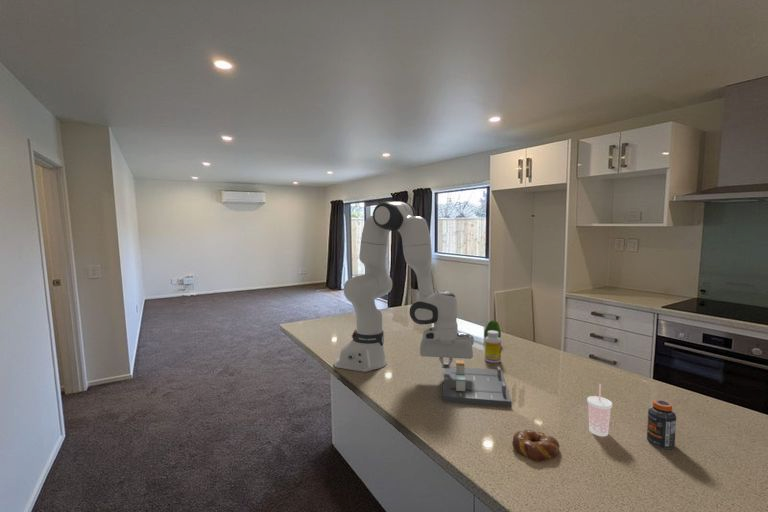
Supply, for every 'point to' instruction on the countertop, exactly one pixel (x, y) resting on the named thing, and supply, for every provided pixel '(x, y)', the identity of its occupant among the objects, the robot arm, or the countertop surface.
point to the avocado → (492, 328)
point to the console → (477, 387)
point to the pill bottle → (661, 425)
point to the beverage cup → (599, 414)
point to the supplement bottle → (492, 347)
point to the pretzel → (535, 445)
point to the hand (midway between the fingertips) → (446, 367)
